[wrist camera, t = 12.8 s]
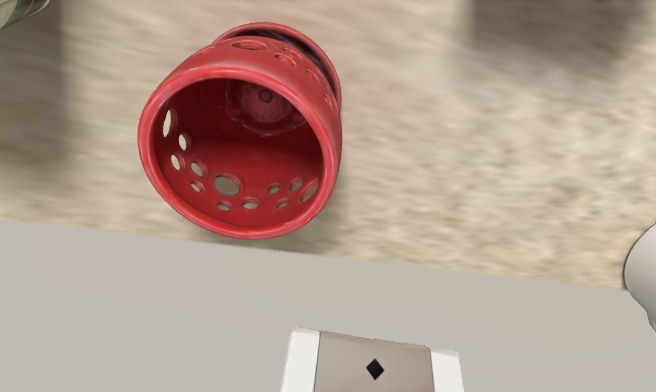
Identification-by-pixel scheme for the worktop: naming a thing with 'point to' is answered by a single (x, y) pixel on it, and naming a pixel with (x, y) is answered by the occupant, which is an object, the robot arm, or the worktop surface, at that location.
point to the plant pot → (247, 131)
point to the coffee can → (19, 10)
